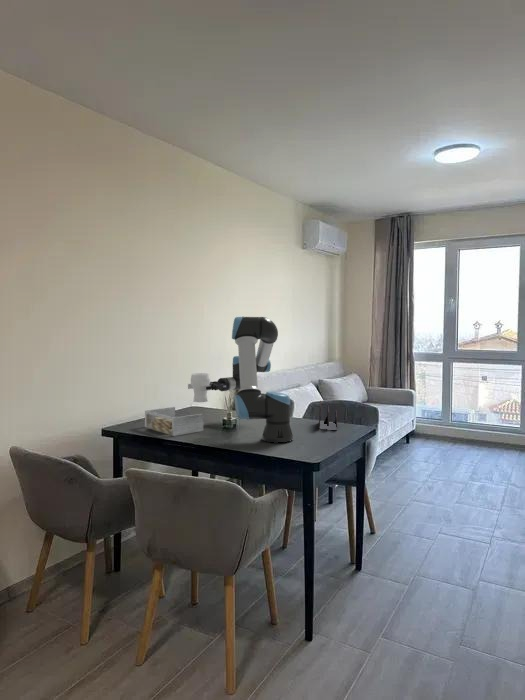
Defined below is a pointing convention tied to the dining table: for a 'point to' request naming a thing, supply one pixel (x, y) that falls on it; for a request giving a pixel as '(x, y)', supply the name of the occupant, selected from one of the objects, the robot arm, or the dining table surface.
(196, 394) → the cup
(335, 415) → the letter holder
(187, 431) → the grey open storage bin
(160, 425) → the offcut bundle
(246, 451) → the dining table surface
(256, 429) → the dining table surface
